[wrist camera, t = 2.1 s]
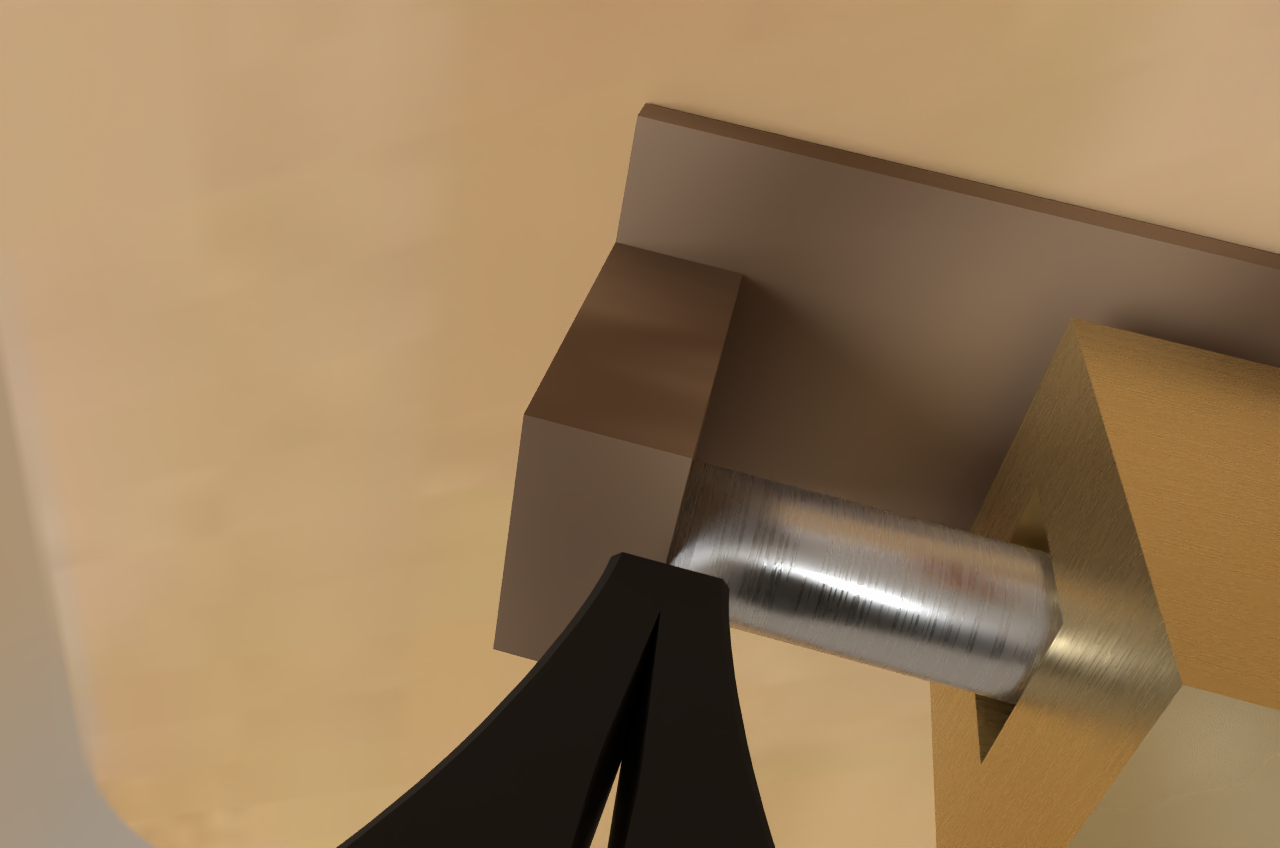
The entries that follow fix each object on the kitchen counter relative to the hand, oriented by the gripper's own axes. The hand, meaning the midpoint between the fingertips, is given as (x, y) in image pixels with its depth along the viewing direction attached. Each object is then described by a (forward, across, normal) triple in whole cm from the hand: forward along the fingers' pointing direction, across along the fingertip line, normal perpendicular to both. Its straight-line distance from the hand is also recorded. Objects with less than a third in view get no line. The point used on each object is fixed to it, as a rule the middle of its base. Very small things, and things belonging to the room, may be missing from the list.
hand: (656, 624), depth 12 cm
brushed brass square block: (+5, -6, 0) cm, 8 cm away
